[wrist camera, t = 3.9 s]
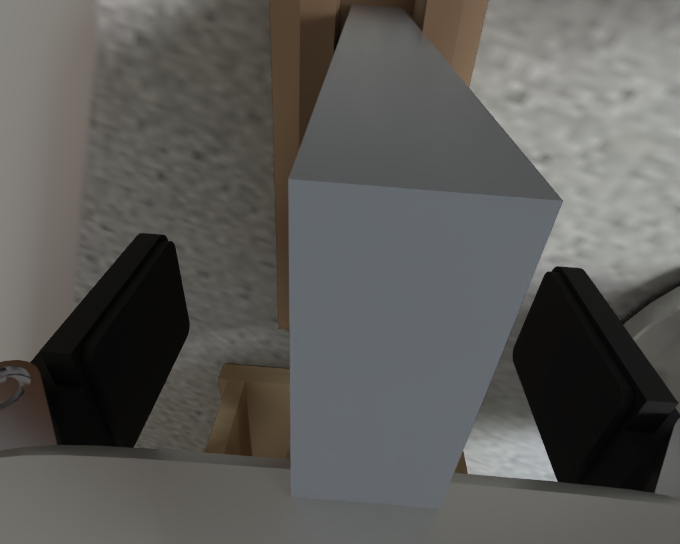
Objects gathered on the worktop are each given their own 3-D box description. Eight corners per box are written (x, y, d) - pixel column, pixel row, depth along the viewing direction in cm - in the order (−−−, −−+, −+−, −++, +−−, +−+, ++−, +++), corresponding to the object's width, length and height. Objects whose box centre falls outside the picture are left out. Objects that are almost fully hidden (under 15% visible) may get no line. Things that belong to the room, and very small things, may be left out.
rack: (459, 382, 22) (486, 502, 17) (419, 501, 29) (429, 610, 24) (223, 363, 22) (183, 477, 17) (240, 486, 29) (215, 592, 24)
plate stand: (483, -9, 12) (520, 0, 9) (411, 327, 20) (418, 389, 17) (274, -25, 12) (245, -21, 9) (281, 316, 20) (267, 377, 17)
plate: (402, 7, 12) (562, 201, 2) (362, 327, 19) (358, 712, 9) (352, 4, 12) (289, 179, 2) (330, 324, 19) (292, 706, 9)
